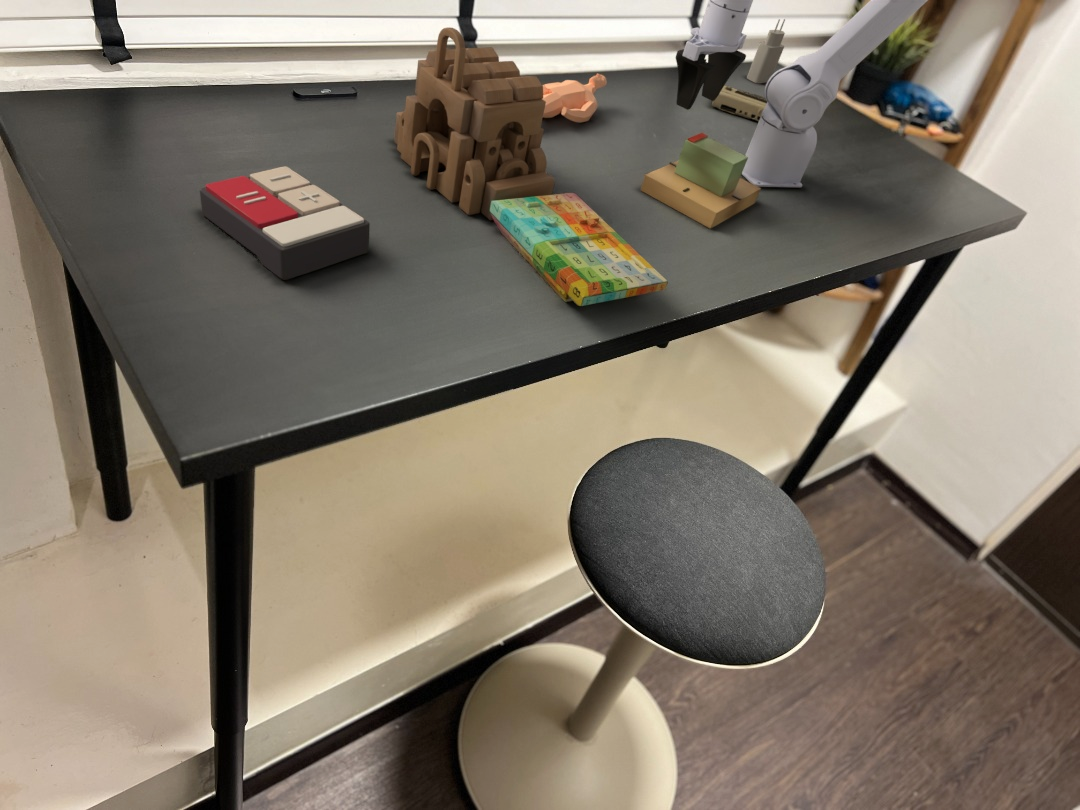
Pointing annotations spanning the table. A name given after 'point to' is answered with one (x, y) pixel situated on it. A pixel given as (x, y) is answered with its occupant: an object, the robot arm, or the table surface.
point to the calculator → (285, 221)
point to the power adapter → (767, 56)
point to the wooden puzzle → (474, 127)
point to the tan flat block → (698, 196)
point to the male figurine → (572, 98)
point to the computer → (740, 102)
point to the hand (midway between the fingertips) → (695, 102)
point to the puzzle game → (574, 249)
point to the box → (710, 164)
